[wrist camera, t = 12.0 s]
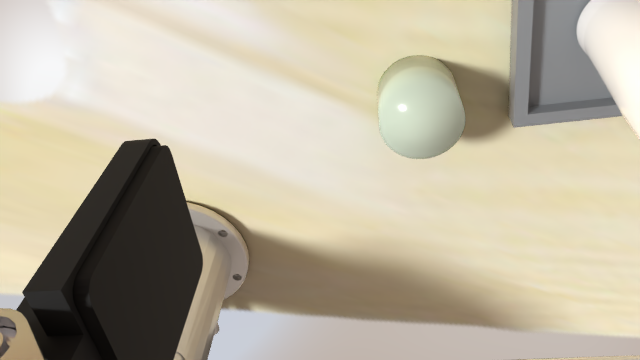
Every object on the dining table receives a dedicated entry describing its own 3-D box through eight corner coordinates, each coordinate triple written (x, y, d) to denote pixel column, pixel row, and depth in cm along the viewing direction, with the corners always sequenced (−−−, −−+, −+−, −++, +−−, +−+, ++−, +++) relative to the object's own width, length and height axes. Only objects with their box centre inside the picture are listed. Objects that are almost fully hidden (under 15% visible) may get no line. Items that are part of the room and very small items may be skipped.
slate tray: (700, 95, 43) (712, 106, 41) (508, 116, 45) (513, 127, 43) (748, -110, 35) (765, -105, 33) (514, -74, 37) (520, -68, 35)
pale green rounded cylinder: (456, 121, 45) (466, 154, 41) (381, 129, 46) (383, 162, 42) (454, 50, 42) (464, 78, 38) (373, 60, 43) (374, 89, 39)
